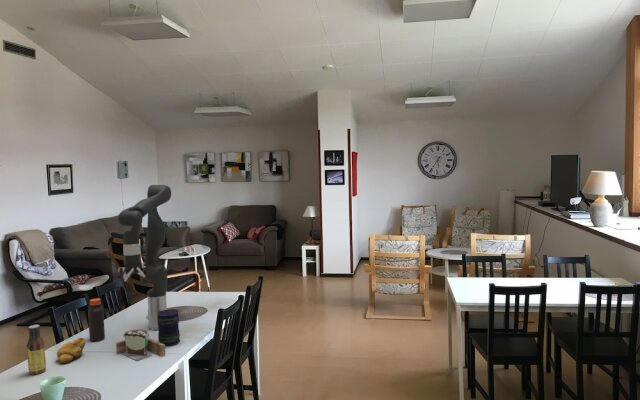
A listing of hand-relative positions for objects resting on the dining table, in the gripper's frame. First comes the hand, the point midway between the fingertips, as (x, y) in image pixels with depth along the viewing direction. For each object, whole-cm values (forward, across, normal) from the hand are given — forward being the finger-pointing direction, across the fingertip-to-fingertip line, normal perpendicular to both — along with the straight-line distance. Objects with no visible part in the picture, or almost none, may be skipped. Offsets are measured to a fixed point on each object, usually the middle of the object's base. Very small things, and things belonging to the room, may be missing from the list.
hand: (133, 287), depth 221 cm
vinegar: (+28, -8, +23) cm, 37 cm away
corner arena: (+28, -5, -12) cm, 31 cm away
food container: (+28, -4, -10) cm, 30 cm away
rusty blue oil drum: (+28, +11, -10) cm, 32 cm away
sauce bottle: (+28, -41, +6) cm, 50 cm away
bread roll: (+28, -27, +10) cm, 40 cm away
